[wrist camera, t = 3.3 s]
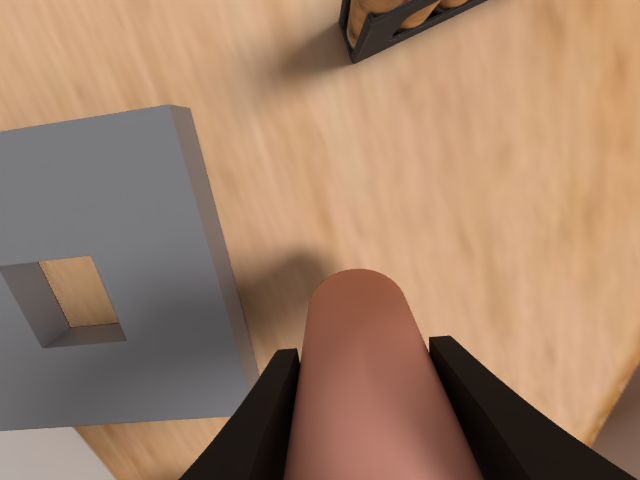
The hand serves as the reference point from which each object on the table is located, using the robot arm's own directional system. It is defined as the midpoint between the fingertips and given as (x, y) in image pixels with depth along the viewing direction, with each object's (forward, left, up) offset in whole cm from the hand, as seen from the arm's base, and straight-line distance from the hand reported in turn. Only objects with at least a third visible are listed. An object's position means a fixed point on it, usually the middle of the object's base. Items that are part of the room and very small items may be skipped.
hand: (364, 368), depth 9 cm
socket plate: (0, +16, -8) cm, 18 cm away
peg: (0, 0, -3) cm, 3 cm away
